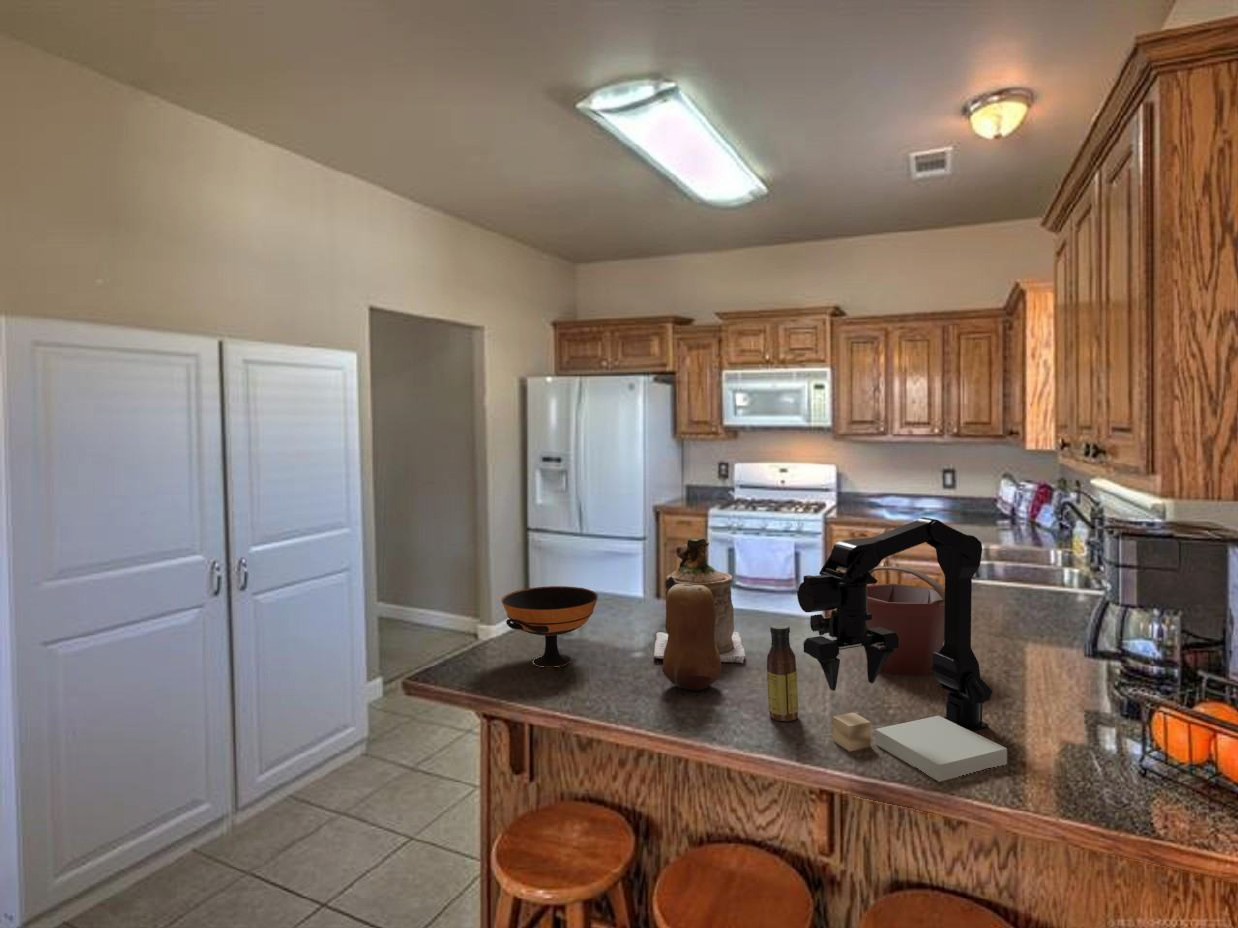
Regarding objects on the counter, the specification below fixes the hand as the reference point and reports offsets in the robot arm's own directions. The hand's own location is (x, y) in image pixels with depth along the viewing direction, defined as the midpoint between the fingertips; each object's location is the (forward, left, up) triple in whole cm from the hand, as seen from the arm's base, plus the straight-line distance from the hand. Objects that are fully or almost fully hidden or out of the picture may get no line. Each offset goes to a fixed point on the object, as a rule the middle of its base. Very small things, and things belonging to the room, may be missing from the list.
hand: (851, 686), depth 139 cm
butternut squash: (+15, -39, -12) cm, 43 cm away
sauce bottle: (+5, -16, -12) cm, 20 cm away
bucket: (-42, -32, -12) cm, 54 cm away
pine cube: (0, 0, -12) cm, 12 cm away
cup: (+41, -71, -12) cm, 83 cm away
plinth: (-12, +10, -11) cm, 19 cm away
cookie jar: (0, -64, -12) cm, 65 cm away
